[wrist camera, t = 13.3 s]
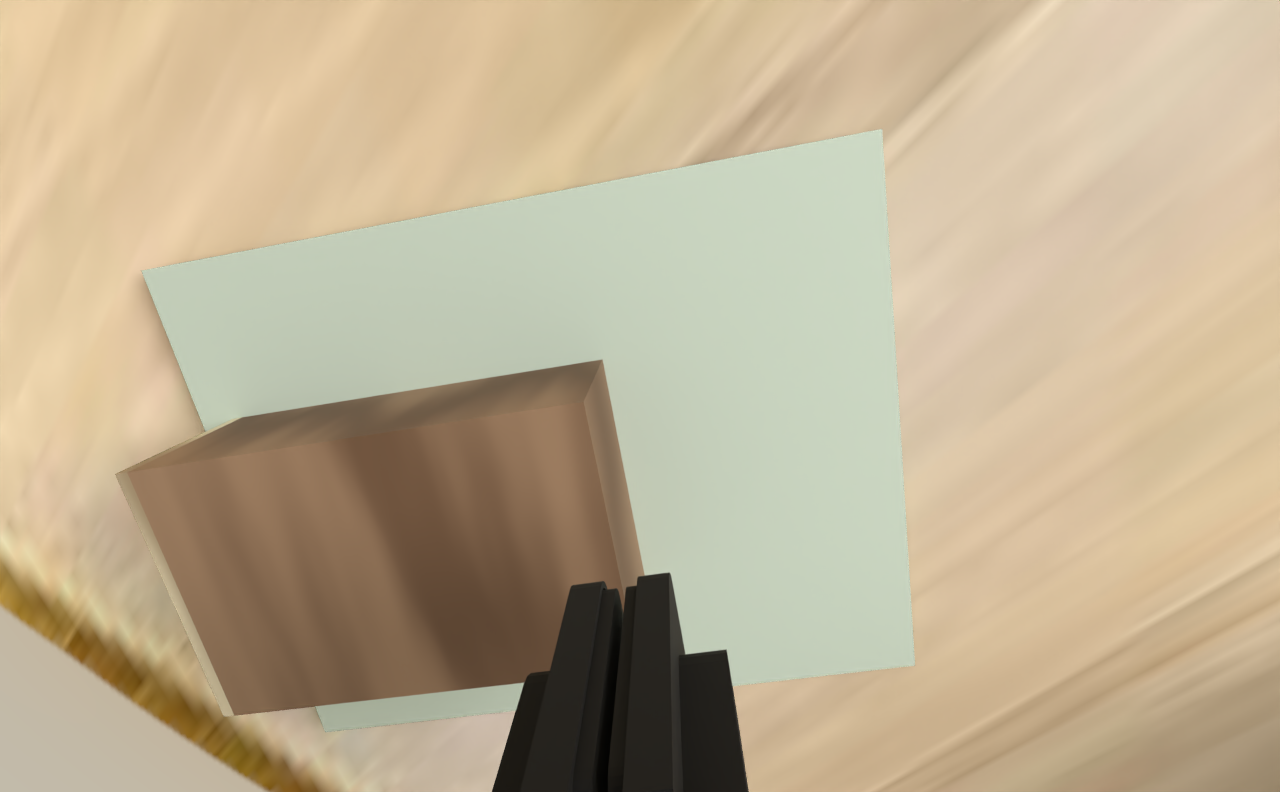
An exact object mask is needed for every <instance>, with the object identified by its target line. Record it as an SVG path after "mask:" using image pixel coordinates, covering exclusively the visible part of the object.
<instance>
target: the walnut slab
mask: <svg viewBox="0 0 1280 792" xmlns="http://www.w3.org/2000/svg"><path fill="white" fill-rule="evenodd" d="M115 475H116V477H117V479H118V482H119V484H120V486H121V488H122V491H123V493H124V495H125V497H126V499H127V502H128V504H129V506H130V508H131V511H132V513H133V515H134V517H135V520H136V522H137V524H138V526H139V528H140V531H141V533H142V535H143V537H144V540H145V542H146V544H147V546H148V549H149V551H150V553H151V555H152V558H153V560H154V562H155V564H156V566H157V569H158V571H159V573H160V575H161V578H162V580H163V582H164V584H165V587H166V589H167V591H168V593H169V595H170V598H171V600H172V602H173V604H174V607H175V609H176V611H177V613H178V616H179V618H180V620H181V622H182V625H183V627H184V629H185V631H186V633H187V636H188V638H189V640H190V642H191V645H192V647H193V649H194V651H195V654H196V656H197V658H198V660H199V662H200V665H201V667H202V669H203V671H204V674H205V676H206V678H207V680H208V683H209V685H210V687H211V689H212V692H213V694H214V696H215V698H216V700H217V703H218V705H219V707H220V709H221V712H222V714H223V716H224V717H226V716H235V715H244V714H252V713H261V712H270V711H279V710H288V709H297V708H305V707H314V706H323V705H332V704H341V703H349V702H358V701H367V700H376V699H385V698H394V697H402V696H411V695H420V694H429V693H438V692H447V691H455V690H464V689H473V688H482V687H491V686H499V685H508V684H517V683H524V682H525V680H526V678H527V676H528V675H529V674H530V673H535V672H544V671H550V668H551V664H552V660H553V656H554V652H555V648H556V644H557V640H558V635H559V631H560V627H561V623H562V619H563V615H564V611H565V607H566V603H567V599H568V595H569V591H570V588H571V586H572V585H577V584H585V583H592V582H600V581H604V582H605V584H606V586H607V589H614V588H617V589H618V591H619V595H620V599H621V604H622V608H623V612H624V602H625V592H626V587H630V586H637V578H638V576H645V575H644V569H643V564H642V559H641V554H640V549H639V544H638V539H637V533H636V528H635V523H634V518H633V513H632V508H631V503H630V498H629V492H628V487H627V482H626V477H625V472H624V467H623V462H622V457H621V451H620V446H619V441H618V436H617V431H616V426H615V421H614V416H613V410H612V405H611V400H610V395H609V390H608V385H607V380H606V375H605V369H604V364H603V359H602V360H596V361H590V362H583V363H577V364H571V365H565V366H558V367H552V368H546V369H540V370H534V371H527V372H521V373H515V374H509V375H502V376H496V377H490V378H484V379H478V380H471V381H465V382H459V383H453V384H447V385H440V386H434V387H428V388H422V389H415V390H409V391H403V392H397V393H391V394H384V395H378V396H372V397H366V398H359V399H353V400H347V401H341V402H335V403H328V404H322V405H316V406H310V407H303V408H297V409H291V410H285V411H279V412H272V413H266V414H260V415H254V416H248V417H241V418H235V419H232V420H230V421H227V422H225V423H223V424H221V425H219V426H217V427H215V428H213V429H210V430H208V431H206V432H204V433H202V434H200V435H198V436H195V437H193V438H191V439H189V440H187V441H185V442H183V443H181V444H178V445H176V446H174V447H172V448H170V449H168V450H166V451H164V452H161V453H159V454H157V455H155V456H153V457H151V458H149V459H147V460H144V461H142V462H140V463H138V464H136V465H134V466H132V467H129V468H127V469H125V470H123V471H121V472H119V473H117V474H115Z"/></svg>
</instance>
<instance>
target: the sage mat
mask: <svg viewBox="0 0 1280 792" xmlns="http://www.w3.org/2000/svg"><path fill="white" fill-rule="evenodd" d="M142 274H143V276H144V279H145V281H146V284H147V286H148V289H149V291H150V294H151V296H152V299H153V301H154V304H155V306H156V309H157V311H158V314H159V316H160V319H161V321H162V324H163V326H164V329H165V331H166V334H167V336H168V339H169V341H170V344H171V346H172V349H173V351H174V354H175V356H176V359H177V361H178V364H179V366H180V369H181V372H182V374H183V377H184V379H185V382H186V384H187V387H188V389H189V392H190V394H191V397H192V399H193V402H194V404H195V407H196V409H197V412H198V414H199V417H200V419H201V422H202V424H203V427H204V429H205V432H206V431H208V430H210V429H213V428H215V427H217V426H219V425H221V424H223V423H225V422H227V421H230V420H232V419H235V418H241V417H248V416H254V415H260V414H266V413H272V412H279V411H285V410H291V409H297V408H303V407H310V406H316V405H322V404H328V403H335V402H341V401H347V400H353V399H359V398H366V397H372V396H378V395H384V394H391V393H397V392H403V391H409V390H415V389H422V388H428V387H434V386H440V385H447V384H453V383H459V382H465V381H471V380H478V379H484V378H490V377H496V376H502V375H509V374H515V373H521V372H527V371H534V370H540V369H546V368H552V367H558V366H565V365H571V364H577V363H583V362H590V361H596V360H602V359H603V364H604V369H605V375H606V380H607V385H608V390H609V395H610V400H611V405H612V410H613V416H614V421H615V426H616V431H617V436H618V441H619V446H620V451H621V457H622V462H623V467H624V472H625V477H626V482H627V487H628V492H629V498H630V503H631V508H632V513H633V518H634V523H635V528H636V533H637V539H638V544H639V549H640V554H641V559H642V564H643V569H644V575H653V574H660V573H668V572H670V574H671V578H672V583H673V588H674V594H675V599H676V605H677V610H678V616H679V621H680V627H681V632H682V638H683V643H684V649H685V654H693V653H701V652H709V651H718V650H726V649H727V655H728V661H729V667H730V673H731V680H732V686H739V685H748V684H756V683H765V682H774V681H783V680H792V679H801V678H809V677H818V676H827V675H836V674H845V673H854V672H862V671H871V670H880V669H889V668H898V667H907V666H915V658H914V642H913V625H912V609H911V593H910V576H909V560H908V544H907V528H906V511H905V495H904V479H903V462H902V446H901V430H900V413H899V397H898V381H897V365H896V348H895V332H894V316H893V299H892V283H891V267H890V250H889V234H888V218H887V201H886V185H885V169H884V153H883V136H882V129H879V130H874V131H869V132H864V133H859V134H853V135H848V136H843V137H838V138H832V139H827V140H822V141H817V142H812V143H806V144H801V145H796V146H791V147H785V148H780V149H775V150H770V151H764V152H759V153H754V154H749V155H744V156H738V157H733V158H728V159H723V160H717V161H712V162H707V163H702V164H697V165H691V166H686V167H681V168H676V169H670V170H665V171H660V172H655V173H649V174H644V175H639V176H634V177H629V178H623V179H618V180H613V181H608V182H602V183H597V184H592V185H587V186H582V187H576V188H571V189H566V190H561V191H555V192H550V193H545V194H540V195H534V196H529V197H524V198H519V199H514V200H508V201H503V202H498V203H493V204H487V205H482V206H477V207H472V208H467V209H461V210H456V211H451V212H446V213H440V214H435V215H430V216H425V217H419V218H414V219H409V220H404V221H399V222H393V223H388V224H383V225H378V226H372V227H367V228H362V229H357V230H352V231H346V232H341V233H336V234H331V235H325V236H320V237H315V238H310V239H305V240H299V241H294V242H289V243H284V244H278V245H273V246H268V247H263V248H257V249H252V250H247V251H242V252H237V253H231V254H226V255H221V256H216V257H210V258H205V259H200V260H195V261H190V262H184V263H179V264H174V265H169V266H163V267H158V268H153V269H148V270H142ZM523 685H524V683H517V684H508V685H499V686H491V687H482V688H473V689H464V690H455V691H447V692H438V693H429V694H420V695H411V696H402V697H394V698H385V699H376V700H367V701H358V702H349V703H341V704H332V705H323V706H315V708H316V710H317V713H318V715H319V718H320V720H321V723H322V725H323V728H324V730H325V732H332V731H341V730H350V729H359V728H368V727H376V726H385V725H394V724H403V723H412V722H421V721H430V720H438V719H447V718H456V717H465V716H474V715H483V714H491V713H500V712H509V711H516V709H517V705H518V702H519V699H520V695H521V692H522V688H523Z"/></svg>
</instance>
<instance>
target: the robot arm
mask: <svg viewBox="0 0 1280 792" xmlns="http://www.w3.org/2000/svg"><path fill="white" fill-rule="evenodd" d="M492 792H749V791H748V784H747V778H746V771H745V764H744V758H743V751H742V744H741V738H740V731H739V725H738V718H737V712H736V705H735V699H734V692H733V686H732V680H731V673H730V667H729V661H728V655H727V649H726V650H718V651H709V652H701V653H693V654H685V649H684V643H683V638H682V632H681V627H680V621H679V616H678V610H677V605H676V599H675V594H674V588H673V583H672V578H671V574H670V572H668V573H660V574H653V575H645V576H638V578H637V586H630V587H626V592H625V602H624V612H623V608H622V604H621V599H620V595H619V591H618V589H617V588H614V589H607V586H606V584H605V582H604V581H600V582H592V583H585V584H577V585H572V586H571V588H570V591H569V595H568V599H567V603H566V607H565V611H564V615H563V619H562V623H561V627H560V631H559V635H558V640H557V644H556V648H555V652H554V656H553V660H552V664H551V668H550V671H544V672H535V673H530V674H529V675H528V676H527V678H526V680H525V682H524V685H523V688H522V692H521V695H520V699H519V702H518V705H517V709H516V712H515V716H514V719H513V722H512V726H511V729H510V733H509V736H508V739H507V743H506V746H505V750H504V753H503V756H502V760H501V763H500V766H499V770H498V773H497V777H496V780H495V783H494V787H493V790H492Z"/></svg>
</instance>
